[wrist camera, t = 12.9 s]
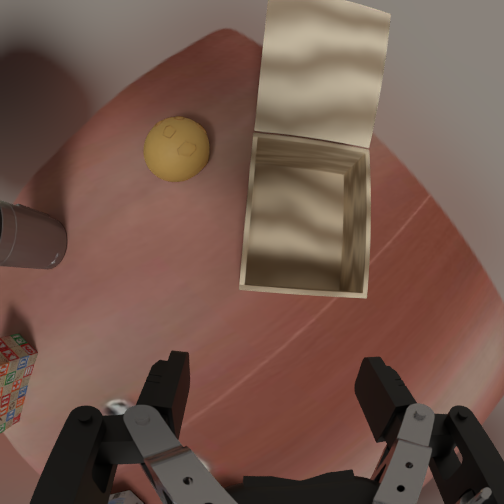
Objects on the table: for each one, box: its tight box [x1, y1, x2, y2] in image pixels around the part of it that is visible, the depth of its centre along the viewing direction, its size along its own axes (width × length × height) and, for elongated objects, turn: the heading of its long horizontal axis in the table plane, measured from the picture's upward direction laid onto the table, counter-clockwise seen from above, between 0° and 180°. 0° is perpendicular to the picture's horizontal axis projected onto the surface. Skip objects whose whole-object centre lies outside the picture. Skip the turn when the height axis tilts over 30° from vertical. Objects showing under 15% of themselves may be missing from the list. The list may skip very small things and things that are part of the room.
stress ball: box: [144, 116, 210, 182], centre depth 41 cm, size 10×10×10 cm
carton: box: [239, 133, 371, 298], centre depth 41 cm, size 20×16×10 cm
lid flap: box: [254, 0, 391, 148], centre depth 31 cm, size 20×16×1 cm
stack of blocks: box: [0, 334, 38, 433], centre depth 35 cm, size 21×6×12 cm, turn 150°
